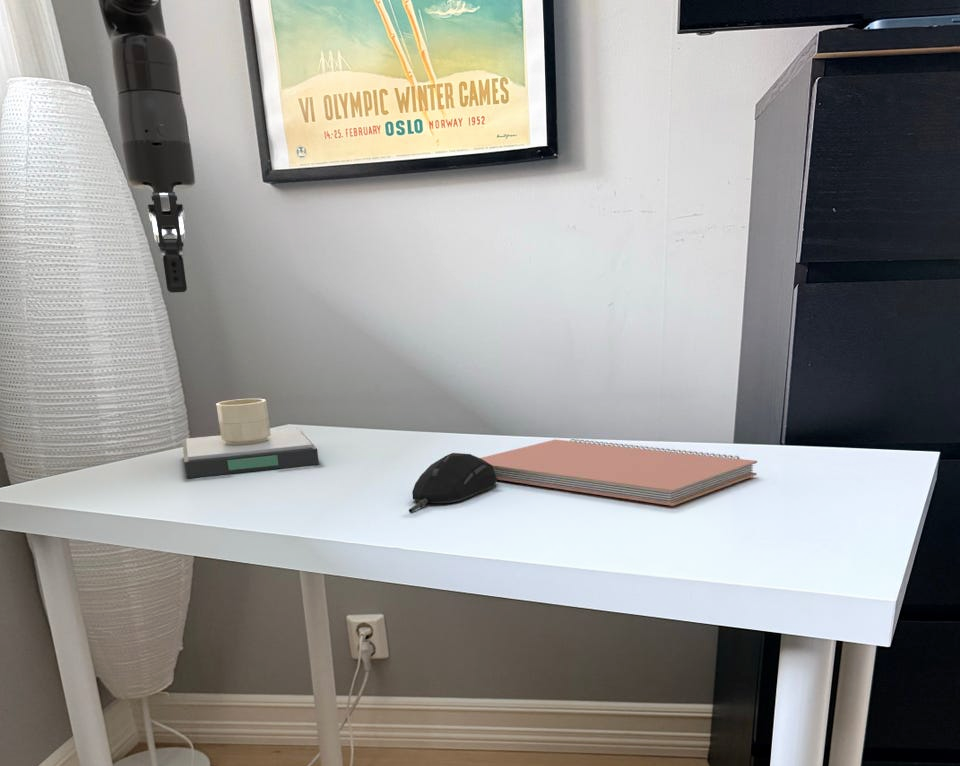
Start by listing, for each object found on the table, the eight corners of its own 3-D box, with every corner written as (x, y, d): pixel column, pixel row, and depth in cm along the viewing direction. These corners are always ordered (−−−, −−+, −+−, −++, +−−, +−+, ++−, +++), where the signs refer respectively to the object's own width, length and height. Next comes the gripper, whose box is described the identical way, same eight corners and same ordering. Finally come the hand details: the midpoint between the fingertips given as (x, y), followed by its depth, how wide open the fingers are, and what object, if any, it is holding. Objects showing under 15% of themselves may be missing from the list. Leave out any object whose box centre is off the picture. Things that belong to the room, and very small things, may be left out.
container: (223, 447, 117) (217, 406, 115) (220, 440, 122) (215, 401, 120) (273, 442, 118) (267, 402, 116) (268, 435, 124) (263, 397, 122)
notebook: (761, 475, 98) (762, 456, 97) (672, 508, 87) (673, 487, 86) (560, 452, 116) (560, 435, 115) (466, 476, 104) (465, 459, 104)
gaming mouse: (383, 510, 92) (379, 470, 90) (457, 479, 104) (455, 443, 102) (438, 515, 89) (435, 473, 87) (507, 482, 101) (506, 445, 99)
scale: (186, 479, 112) (183, 458, 111) (185, 456, 126) (181, 438, 125) (319, 464, 116) (317, 444, 115) (302, 445, 130) (300, 427, 129)
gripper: (124, 149, 112) (146, 293, 117) (118, 131, 99) (143, 293, 105) (189, 150, 114) (207, 291, 119) (191, 132, 101) (211, 291, 107)
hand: (177, 292), depth 112 cm, fingers open, 8 cm apart
